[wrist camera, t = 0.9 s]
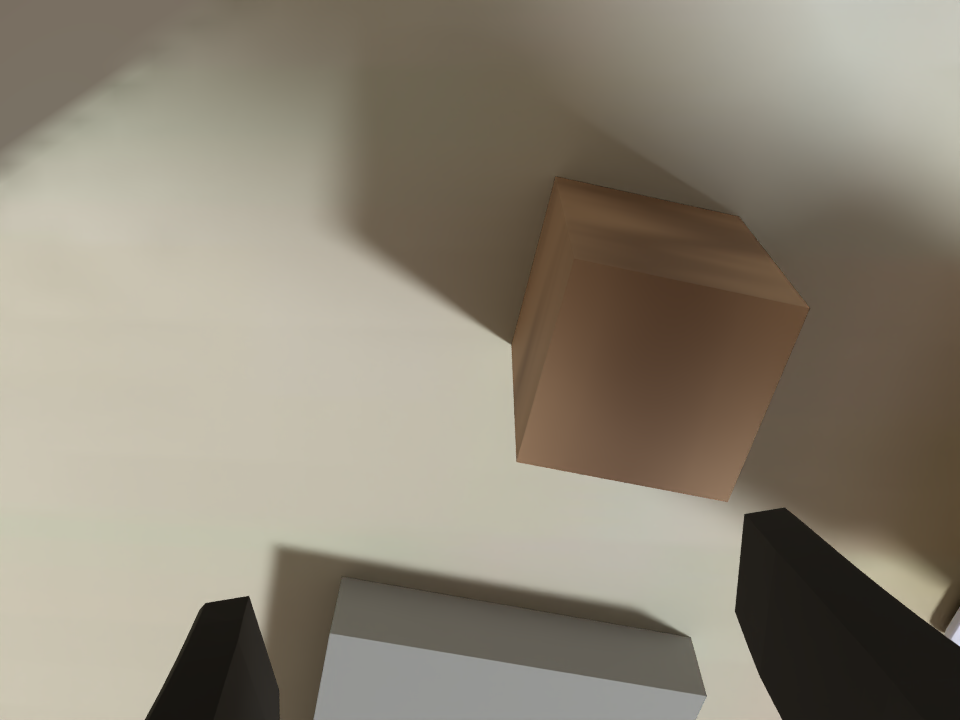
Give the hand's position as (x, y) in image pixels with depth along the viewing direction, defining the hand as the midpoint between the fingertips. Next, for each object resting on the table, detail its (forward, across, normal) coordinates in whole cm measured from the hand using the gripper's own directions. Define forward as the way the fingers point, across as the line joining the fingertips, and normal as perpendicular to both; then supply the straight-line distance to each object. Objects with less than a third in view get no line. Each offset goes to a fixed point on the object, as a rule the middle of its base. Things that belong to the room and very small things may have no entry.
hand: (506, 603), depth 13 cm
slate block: (+12, 0, +19) cm, 22 cm away
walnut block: (+12, -5, +2) cm, 13 cm away
